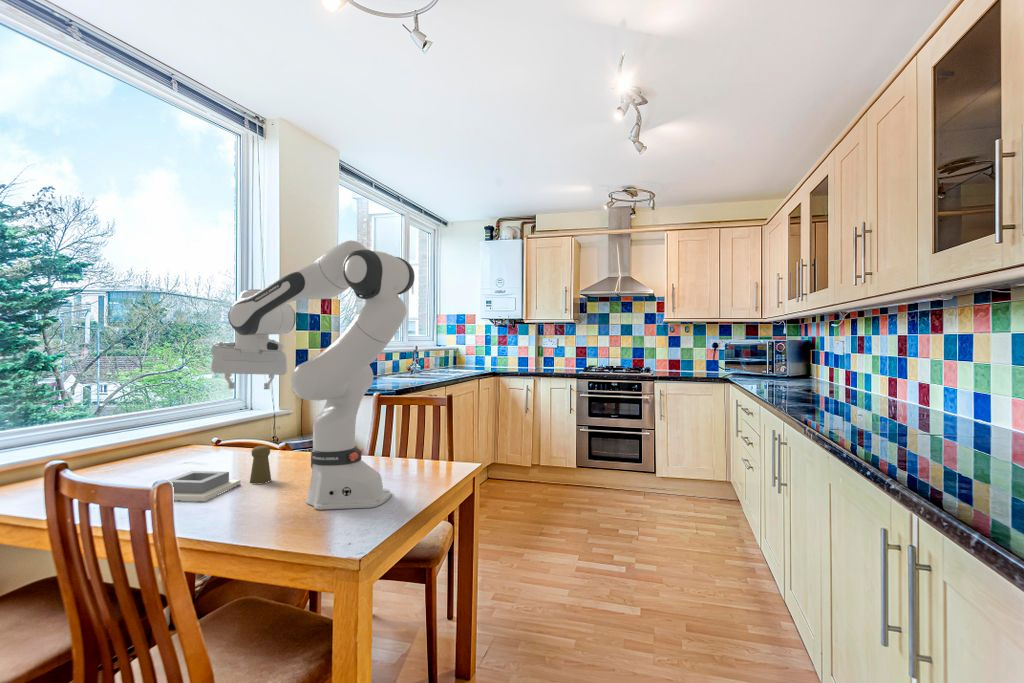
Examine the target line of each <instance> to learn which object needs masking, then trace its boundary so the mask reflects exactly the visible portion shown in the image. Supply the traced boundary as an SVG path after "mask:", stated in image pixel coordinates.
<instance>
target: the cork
mask: <svg viewBox="0 0 1024 683" xmlns="http://www.w3.org/2000/svg"><path fill="white" fill-rule="evenodd" d="M270 454H271V449H270V446H268V445H258V446H255V447H253V448H252V449H251V457H252V458H253V459H252V465H251V473H250V476H249V477H250V479H249V484H250V483H264V484H266V483H265V482H268V481H270V480H271V481H272V475H271V469H270V468H271V467H270V460H269V456H270ZM271 481H270V482H271ZM268 483H269V482H268Z"/></svg>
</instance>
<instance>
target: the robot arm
mask: <svg viewBox="0 0 1024 683" xmlns="http://www.w3.org/2000/svg"><path fill="white" fill-rule="evenodd" d="M414 283H415V271H414V268H413V266H412V265H411V264H410V263H409V262H408V261H407V260H406V259H403V258H401V257H399V256H395V255H392V254H389V253H387V252H384V251H377V250H371V249H368V248H366V247H365V246H364V245H363V244H362V243H360V242H358V241H357V240H346V241H344V242H341V243H339V244H338V245H336V246H334V247H332V248H331V249H329V250H327V251H326V252H325V253H323V255H321V256H320V257H318V258H317V259H315V260H314V261H312V262H310V263H308V264H307V265H305V266H304V267H302V268H300V269H297V270H295V271H294V272H291V273H289V274H287V275H285V276H282V277H281V278H279V279H278V280H276V281H274V282H272V283H271V284H269V285H268V286H266V287H264V288H263V289H246V290H243V291H241V292H240V294H239V298H238V300H236V301H235V302H234V303H233V304H232V305H231V307H230V309H229V310H228V315H227V317H228V318H227V319H228V323H229V325H230V326H231V328H232V329H233V330H234V331H235V338H234V339H235V340H234V342H229V341H228V342H224V341H218V342H217V343H214V344H213V345H212V346H211V352H210V353H211V355H212V360H211V367H210V370H211V372H212V373H213V374H224V379H225V380H226V381H227V384H228V390H234V389H235V387H236V386H235V385H236V382H233V381H232V380H231V377H232V374H233V375H266V376H267V375H268V378H269V380H268V381H267V382H264V384H263V389H264V390H270V388H271V387H270V386H271V383H272V381H273V380H274V378H275V376H278V375H279V376H283V375H286V374H287V373H288V360H287V359H288V358H287V354H286V353H285V352H284V348H285V344H284V343H282V342H280V341H277V340H274V339H271V338H269V336H270V335H284V334H288V333H290V332H291V331H292V330H293V329H294V327H295V324H296V313H295V310H294V309H293V307H292V305H290V304H289V303H290V302H291V303H292V302H295V301H300V300H303V301H304V300H328V299H331V298H333V297H336V296H339V295H341V294H342V293H344V292H345V291H346V290H348V289H349V288H350V289H352V290H353V291H354V294H355V296H356V297H357V298H359V299H361V300H364V304H363V307H362V308H361V309H360V310H359V311H358V312H357V314H356V316H354V318H353V320H352V321H351V322H350V324H348V326H347V328H346V329H345V330H344V331H343V332H342V334H340V336H339V337H338V338H337V339H336V340H334V341H333V343H331V344H329V346H327V347H326V348H325V349H324V350H322V351H321V352H320V353H318V354H316V356H314V357H312V358H311V359H309V360H307V361H304V362H302V363H300V364H297V365H296V367H295V368H294V370H293V371H292V374H291V378H290V381H291V382H290V383H291V384H290V385H291V389H292V390H293V392H294V394H295V395H296V396H297V397H298V398H299V399H303V400H308V401H316V402H317V401H318V402H320V401H326V402H325V404H324V407H323V409H322V410H321V412H320V413H319V414H318V415H317V416H316V417H315V418H314V420H313V424H312V448H311V451H310V467H311V477H310V482H309V484H310V485H309V489H308V493H307V496H306V499H305V502H306V504H308V505H311V506H313V508H314V509H315V510H321V511H322V510H338V509H339V510H340V509H341V510H342V509H367V508H370V509H371V508H376V507H379V506H381V505H382V504H384V503H386V502H387V501H388V500H389V499H390V497H391V495H392V492H391V490H390V489H388V488H384V486H383V479H382V477H381V474H380V472H379V471H377V470H376V469H374V468H373V467H371V466H370V465H368V464H367V463H366V462H365V461H363V460H362V454H363V453H364V448H362V449H359V448H358V447H357V446H356V424H357V423H356V421H357V416H358V412H359V408H360V405H361V402H362V400H363V398H364V395H365V394H366V393H367V392H368V390H369V389H371V387H372V385H373V382H374V372H373V369H372V367H371V366H370V364H372V363H373V362H375V361H376V359H377V358H378V357H379V356H380V354H381V353H383V351H384V349H385V348H386V347H387V345H389V344H390V342H391V340H393V338H394V337H395V335H396V334H397V332H398V330H399V329H400V327H401V325H402V323H403V322H404V319H405V318H406V316H407V306H406V304H405V302H404V301H403V299H402V298H401V297H400V296H399V295H402V294H405V293H406V292H408V291H410V289H411V288H412V286H413V285H414Z"/></svg>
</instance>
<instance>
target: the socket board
mask: <svg viewBox="0 0 1024 683" xmlns="http://www.w3.org/2000/svg"><path fill="white" fill-rule="evenodd" d="M168 480H169V481H171V482H172V483H173V487H174V500H175V501H174V502H178V501H177V500H181V501H180V502H197V501H205V502H207V501H209V500H211V499H213V498H215V497H217V496H216V495H218V494H220V493H222V492H224V491H226V490H228V491H230V490H232V489H231V488H233V487H235V486H237V485H239V484H240V485H241V479H230V471H208V470H207V471H205V470H201V471H199V470H191V471H188V472H186V473H183V474H181V475H177V476H175V477H174V476H173V477H172V478H169V479H168ZM240 485H239V486H240ZM237 487H238V486H237ZM235 488H236V487H235ZM229 489H230V490H229ZM233 489H234V488H233ZM226 492H227V491H226ZM224 493H225V492H224ZM222 494H223V493H222ZM220 495H221V494H220ZM214 496H215V497H214ZM218 496H219V495H218ZM212 497H213V498H212ZM210 498H211V499H210ZM208 499H209V500H208ZM206 500H207V501H206Z"/></svg>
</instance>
